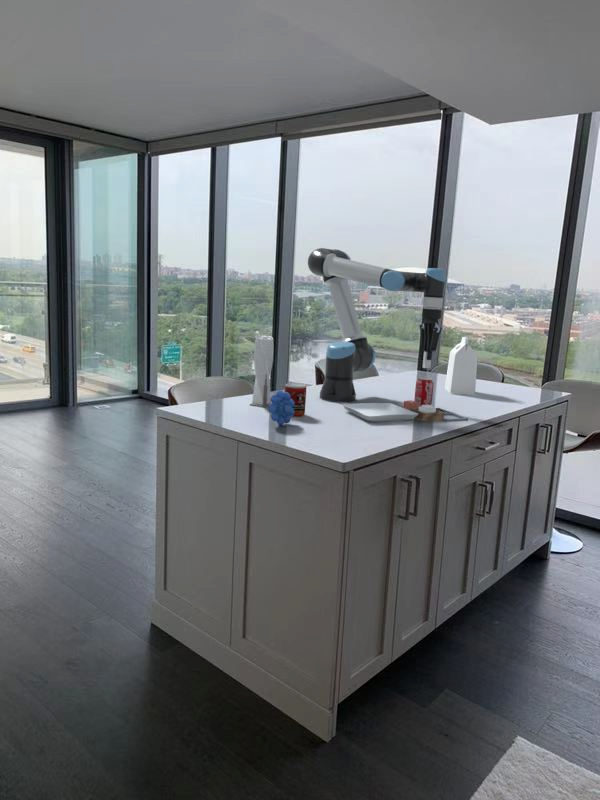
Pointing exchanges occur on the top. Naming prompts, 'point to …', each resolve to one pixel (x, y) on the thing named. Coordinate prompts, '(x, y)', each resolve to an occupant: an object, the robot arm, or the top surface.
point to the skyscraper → (262, 370)
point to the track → (452, 414)
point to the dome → (427, 409)
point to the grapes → (281, 407)
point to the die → (410, 404)
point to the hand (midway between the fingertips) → (426, 367)
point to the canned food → (297, 397)
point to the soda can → (424, 391)
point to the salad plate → (380, 412)
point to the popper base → (428, 415)
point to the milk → (462, 369)
